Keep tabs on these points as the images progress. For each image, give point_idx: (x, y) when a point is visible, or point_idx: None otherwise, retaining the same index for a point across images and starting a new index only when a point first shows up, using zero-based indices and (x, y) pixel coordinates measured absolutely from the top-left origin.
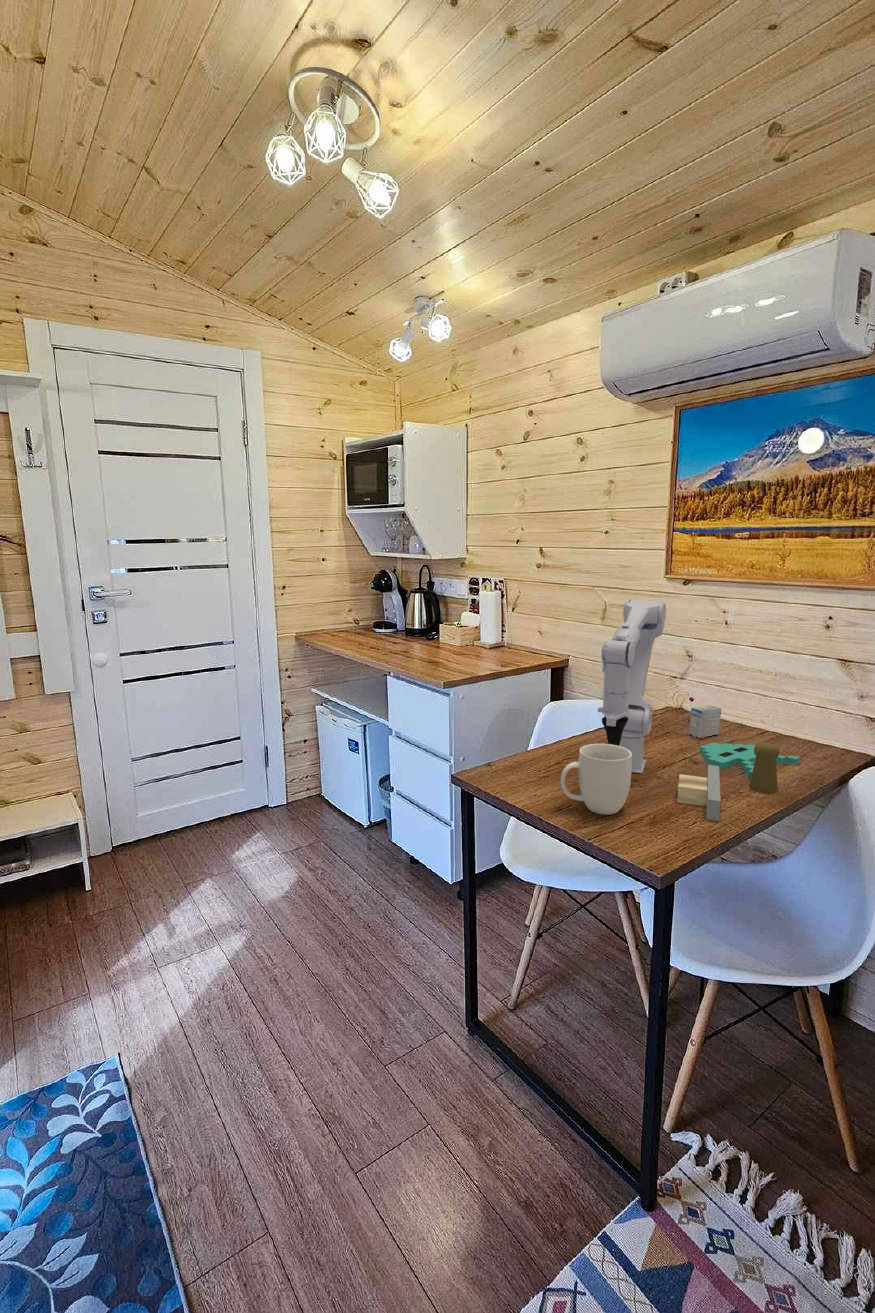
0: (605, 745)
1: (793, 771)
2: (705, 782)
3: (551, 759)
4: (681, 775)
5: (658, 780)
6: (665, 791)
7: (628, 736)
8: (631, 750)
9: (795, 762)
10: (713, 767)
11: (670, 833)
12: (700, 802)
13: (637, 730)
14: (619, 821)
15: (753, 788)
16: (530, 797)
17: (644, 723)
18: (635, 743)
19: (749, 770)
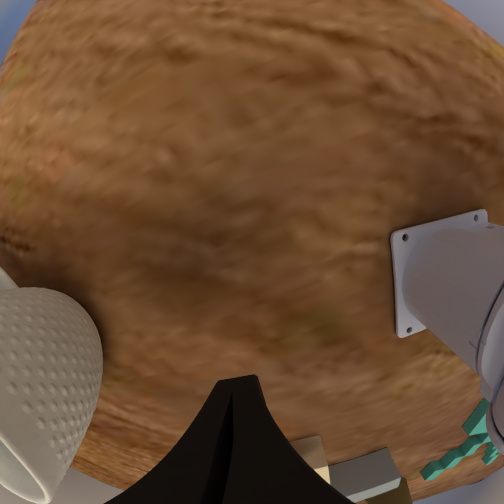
0: (4, 439)
1: (462, 469)
2: None
3: (360, 14)
4: (320, 470)
5: (363, 385)
6: (288, 422)
7: (480, 355)
8: (443, 335)
9: (484, 461)
10: (386, 487)
11: (86, 446)
12: None
13: (499, 397)
14: None
15: None
16: (15, 132)
17: (501, 452)
18: (464, 360)
19: (436, 470)
